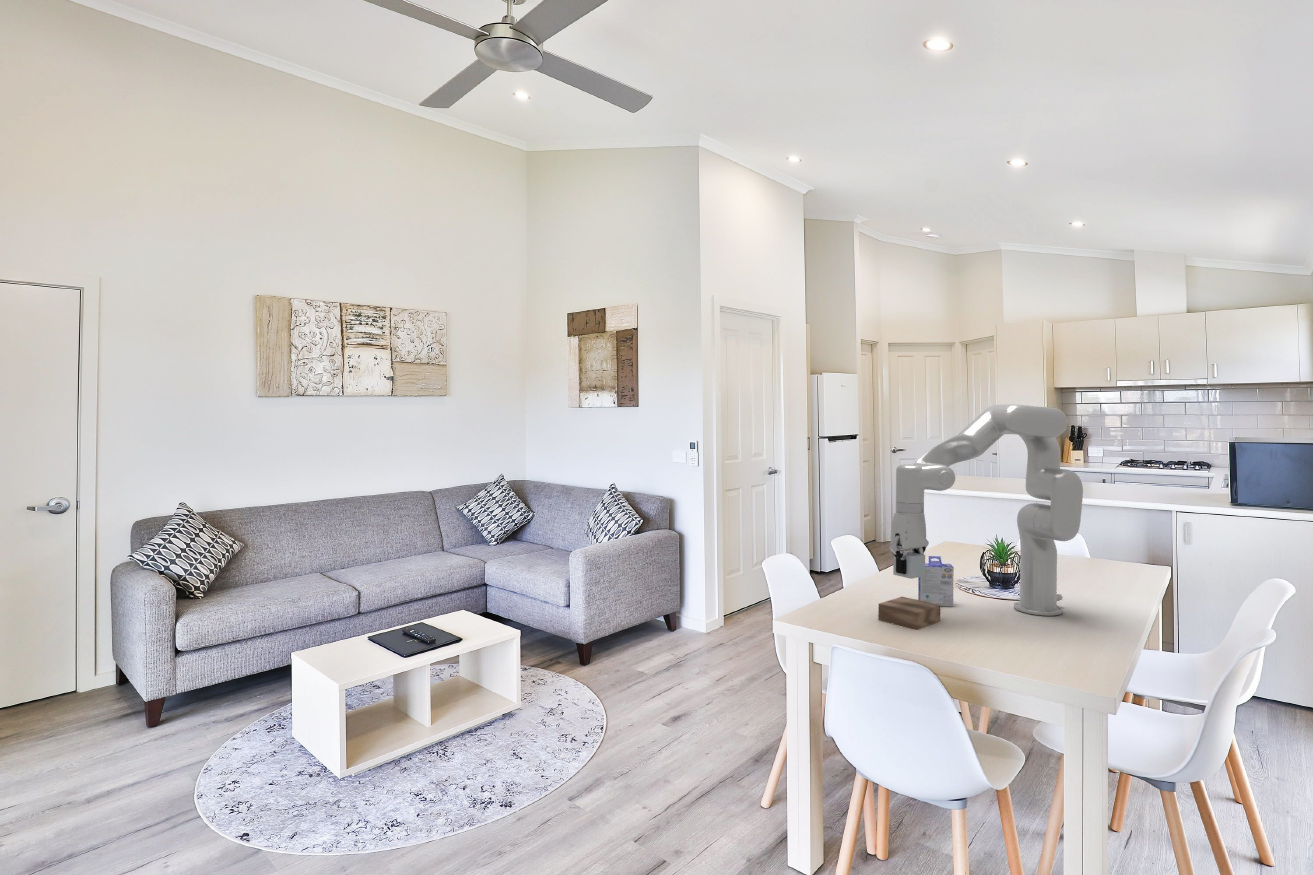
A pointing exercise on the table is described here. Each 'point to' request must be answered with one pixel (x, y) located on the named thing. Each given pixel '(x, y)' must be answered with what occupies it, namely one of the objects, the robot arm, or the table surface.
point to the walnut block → (909, 612)
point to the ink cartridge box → (936, 583)
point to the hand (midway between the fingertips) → (909, 571)
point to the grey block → (912, 565)
